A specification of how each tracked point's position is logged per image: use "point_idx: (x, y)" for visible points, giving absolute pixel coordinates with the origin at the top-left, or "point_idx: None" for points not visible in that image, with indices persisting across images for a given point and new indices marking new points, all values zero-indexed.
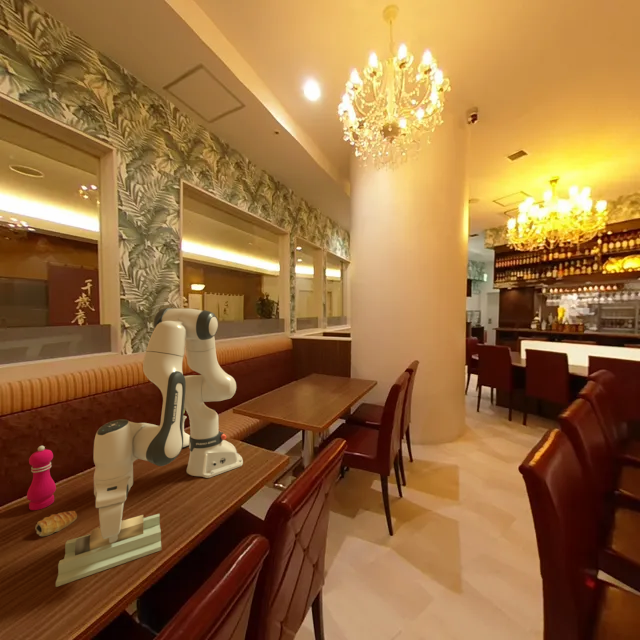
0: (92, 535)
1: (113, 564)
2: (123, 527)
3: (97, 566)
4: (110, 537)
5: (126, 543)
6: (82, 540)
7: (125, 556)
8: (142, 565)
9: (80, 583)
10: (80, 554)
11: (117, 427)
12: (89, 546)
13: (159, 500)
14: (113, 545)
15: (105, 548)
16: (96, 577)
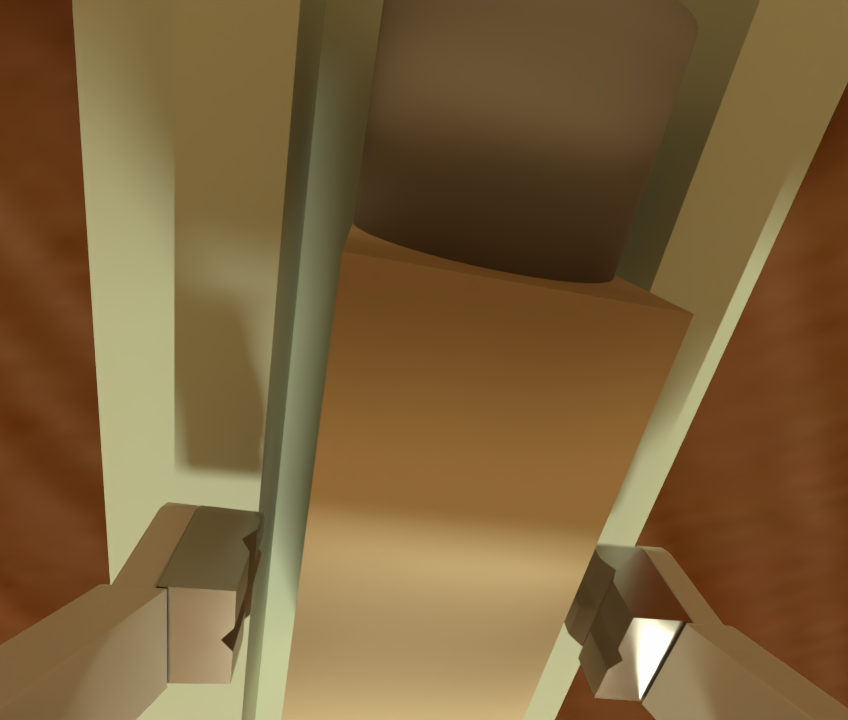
0: (444, 312)
1: (105, 406)
2: (322, 713)
3: (131, 271)
4: (123, 579)
5: None
6: (495, 106)
7: (145, 508)
8: (9, 578)
9: (13, 80)
10: (271, 71)
11: None
12: (355, 222)
13: None
14: (210, 492)
15: (203, 409)
16: (36, 244)
